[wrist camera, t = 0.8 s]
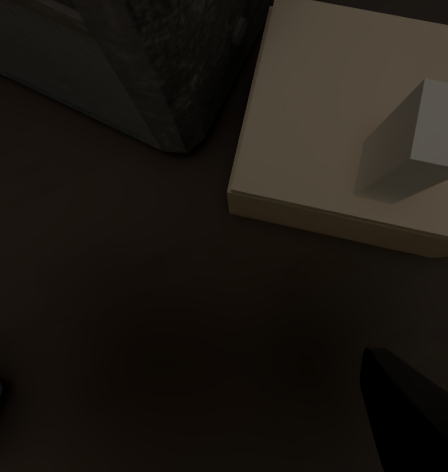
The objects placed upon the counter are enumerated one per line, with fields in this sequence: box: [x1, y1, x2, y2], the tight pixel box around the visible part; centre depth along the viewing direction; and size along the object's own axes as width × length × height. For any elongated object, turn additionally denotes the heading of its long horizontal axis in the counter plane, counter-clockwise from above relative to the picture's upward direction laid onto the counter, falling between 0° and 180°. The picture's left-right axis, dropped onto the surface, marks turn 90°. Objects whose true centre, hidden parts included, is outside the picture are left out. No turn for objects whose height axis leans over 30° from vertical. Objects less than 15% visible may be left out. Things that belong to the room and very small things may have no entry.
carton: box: [227, 6, 448, 258], centre depth 19 cm, size 9×12×6 cm
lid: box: [231, 0, 448, 239], centre depth 13 cm, size 9×12×6 cm
